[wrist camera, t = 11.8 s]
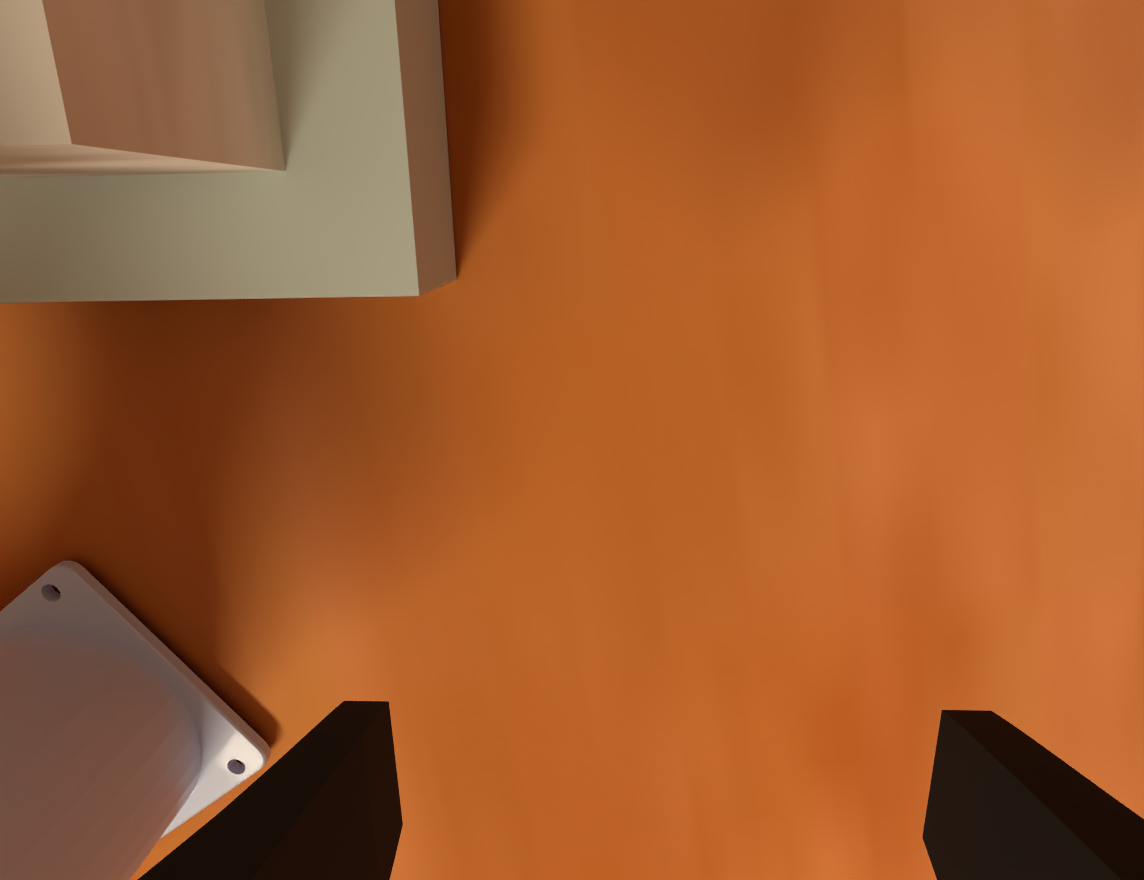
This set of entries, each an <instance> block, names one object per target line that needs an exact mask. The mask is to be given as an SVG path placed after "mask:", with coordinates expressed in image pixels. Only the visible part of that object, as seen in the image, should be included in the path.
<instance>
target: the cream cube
mask: <svg viewBox="0 0 1144 880" xmlns="http://www.w3.org/2000/svg"><path fill="white" fill-rule="evenodd" d="M280 171H286V168H285V160H284V153H283V145H282V137H281V129H280V121H279V113H278V105H277V97H276V89H275V82H274V74H273V66H272V58H271V50H270V42H269V34H268V26H267V18H266V10H265V3H264V0H0V178H13V177H57V176H102V175H147V174H191V173H236V172H280Z"/></svg>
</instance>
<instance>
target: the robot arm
mask: <svg viewBox="0 0 1144 880" xmlns="http://www.w3.org/2000/svg"><path fill="white" fill-rule="evenodd" d="M52 585H54V586H55V587H57V588H58V590H59V591H60V594H59V593H58V592H56V591H55V590H54V588H53V586H52ZM270 753H271V752H270V747H269V746H268V744H267V743H266V742H265V741H264V740H263V739H262V738H261V737H260V736H259V735H258V734H257V733H256V732H255V731H254V730H253V729H252V728H251V727H250V726H249V725H248V724H247V723H246V722H245V721H244V720H243V719H241V718H240V717H239V716H238V715H237V714H236V713H235V712H234V711H233V710H232V709H231V708H230V707H229V706H228V705H227V704H226V703H225V702H224V701H223V700H222V699H221V698H220V697H219V696H217V695H216V694H215V693H214V692H213V691H212V690H211V689H210V688H209V687H208V686H207V685H206V684H205V683H204V682H203V681H202V680H201V679H200V678H199V677H198V676H197V675H196V674H195V673H193V672H192V671H191V670H190V669H189V668H188V667H187V666H186V665H185V664H184V663H183V662H182V661H181V660H180V659H179V658H178V657H177V656H176V655H175V654H174V653H173V652H172V651H171V650H170V649H168V648H167V647H166V646H165V645H164V644H163V643H162V642H161V641H160V640H159V639H158V638H157V637H156V636H155V635H154V634H153V633H152V632H151V631H150V630H149V629H148V628H147V627H146V626H144V625H143V624H142V623H141V622H140V621H139V620H138V619H137V618H136V617H135V616H134V615H133V614H132V613H131V612H130V611H129V610H128V609H127V608H126V607H125V606H124V605H123V604H122V603H120V602H119V601H118V600H117V599H116V598H115V597H114V596H113V595H112V594H111V593H110V592H109V591H108V590H107V589H106V588H105V587H104V586H103V585H102V584H101V583H100V582H99V581H98V580H96V579H95V578H94V577H93V576H92V575H91V574H90V573H89V572H88V571H87V570H86V569H85V568H84V567H83V566H81V565H80V564H78V563H77V562H73V561H62V562H60V563H58V564H56V565H55V566H53V567H52V568H50V569H49V570H48V571H47V572H45V573H44V574H43V575H42V576H41V577H40V578H38V579H37V580H36V581H35V582H34V583H33V584H31V585H30V586H29V587H28V588H27V589H26V590H25V591H23V592H22V593H21V594H20V595H19V596H18V597H16V598H15V599H14V600H13V601H12V602H11V603H10V604H8V605H7V606H6V607H5V608H4V609H3V610H1V611H0V880H130V879H131V878H132V876H133V875H134V874H135V872H136V871H137V869H138V868H139V867H140V865H141V864H142V862H143V861H144V860H145V858H146V857H147V856H148V854H149V853H150V851H151V850H152V849H153V847H154V846H155V844H156V843H157V842H158V840H159V839H161V838H162V837H164V836H165V835H167V834H168V833H169V832H171V831H172V830H174V829H175V828H177V827H178V826H180V825H181V824H182V823H184V822H185V821H187V820H188V819H190V818H191V817H193V816H194V815H195V814H197V813H198V812H200V811H201V810H203V809H204V808H205V807H207V806H208V805H210V804H211V803H213V802H214V801H216V800H217V799H218V798H220V797H221V796H223V795H224V794H226V793H227V792H229V791H230V790H231V789H233V788H234V787H236V786H237V785H239V784H240V783H242V782H243V781H244V780H246V779H247V778H249V777H250V776H252V775H253V774H255V773H256V772H257V771H259V770H260V769H262V767H263V766H264V765H265V764H266V762H267V761H268V759H269V757H270ZM235 759H236V760H239V761H241V762H243V764H240V763H238V762H237V761H236V760H235ZM402 825H403V823H402V814H401V806H400V797H399V788H398V779H397V771H396V762H395V753H394V744H393V736H392V727H391V718H390V709H389V702H381V701H344V702H342V703H341V704H340V705H339V706H338V707H337V708H335V709H334V710H333V711H332V712H331V713H330V714H329V715H328V716H326V717H325V718H324V719H323V720H322V721H321V722H320V723H319V724H318V725H317V726H315V727H314V728H313V729H312V730H311V731H310V732H309V733H308V734H307V735H306V736H305V737H303V738H302V739H301V740H300V741H299V742H298V743H297V744H296V745H295V746H294V747H293V748H291V749H290V750H289V751H288V752H287V753H286V754H285V755H284V756H283V757H282V758H280V759H279V760H278V761H277V762H276V763H275V764H274V765H273V766H272V767H271V768H269V769H268V770H267V771H266V772H265V773H264V774H263V775H262V776H260V777H259V778H258V779H257V780H256V781H255V782H254V783H253V784H251V785H250V786H249V787H248V788H247V789H246V790H245V791H244V792H242V793H241V794H240V795H239V796H238V797H237V798H236V799H235V800H233V801H232V802H231V803H230V804H229V805H228V806H227V807H225V808H224V809H223V810H222V811H221V812H220V813H219V814H217V815H216V816H215V817H214V818H212V819H211V820H210V821H209V822H208V823H206V824H205V825H204V826H203V827H201V828H200V829H199V830H198V831H197V832H195V833H194V834H193V835H192V836H191V837H189V838H188V839H187V840H186V841H184V842H183V843H182V844H181V845H180V846H178V847H177V848H176V849H175V850H173V851H172V852H171V853H170V854H169V855H167V856H166V857H165V858H164V859H162V860H161V861H160V862H159V863H158V864H156V865H155V866H154V867H153V868H151V869H150V870H149V871H148V872H147V873H145V874H144V875H143V876H142V877H140V878H139V879H138V880H389V879H390V875H391V871H392V867H393V863H394V859H395V855H396V850H397V846H398V842H399V838H400V833H401V829H402ZM923 840H924V843H925V846H926V849H927V852H928V855H929V857H930V860H931V863H932V866H933V869H934V872H935V875H936V878H937V880H1144V819H1143V818H1141V817H1140V816H1138V815H1137V814H1136V813H1134V812H1133V811H1131V810H1130V809H1129V808H1127V807H1126V806H1124V805H1123V804H1122V803H1120V802H1119V801H1117V800H1116V799H1115V798H1113V797H1112V796H1111V795H1109V794H1108V793H1106V792H1105V791H1104V790H1102V789H1101V788H1099V787H1098V786H1097V785H1095V784H1094V783H1093V782H1091V781H1090V780H1088V779H1087V778H1086V777H1084V776H1083V775H1082V774H1080V773H1079V772H1077V771H1076V770H1075V769H1073V768H1072V767H1071V766H1069V765H1068V764H1066V763H1065V762H1064V761H1062V760H1061V759H1060V758H1058V757H1057V756H1055V755H1054V754H1053V753H1051V752H1050V751H1049V750H1047V749H1046V748H1044V747H1043V746H1042V745H1040V744H1039V743H1037V742H1036V741H1035V740H1033V739H1032V738H1030V737H1029V736H1028V735H1026V734H1025V733H1023V732H1022V731H1021V730H1019V729H1018V728H1016V727H1015V726H1013V725H1012V724H1010V723H1009V722H1008V721H1006V720H1005V719H1003V718H1001V717H1000V716H998V715H997V714H995V713H994V712H992V711H970V710H942V713H941V720H940V726H939V733H938V739H937V746H936V752H935V759H934V765H933V772H932V779H931V785H930V792H929V798H928V805H927V811H926V818H925V824H924V831H923Z"/></svg>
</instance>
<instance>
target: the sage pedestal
mask: <svg viewBox="0 0 1144 880" xmlns="http://www.w3.org/2000/svg"><path fill="white" fill-rule="evenodd" d="M264 3H265V10H266V18H267V26H268V34H269V42H270V50H271V58H272V66H273V74H274V82H275V89H276V97H277V105H278V113H279V121H280V129H281V137H282V145H283V153H284V160H285V168H286V171H280V172H236V173H191V174H147V175H102V176H57V177H13V178H0V303H26V302H86V301H146V300H206V299H266V298H325V297H385V296H420V295H423V294H425V293H427V292H429V291H432V290H434V289H436V288H439V287H441V286H443V285H446V284H448V283H450V282H453V281H455V280H457V276H456V261H455V246H454V231H453V217H452V202H451V187H450V172H449V157H448V143H447V128H446V113H445V98H444V83H443V69H442V54H441V39H440V24H439V9H438V0H264Z"/></svg>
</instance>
